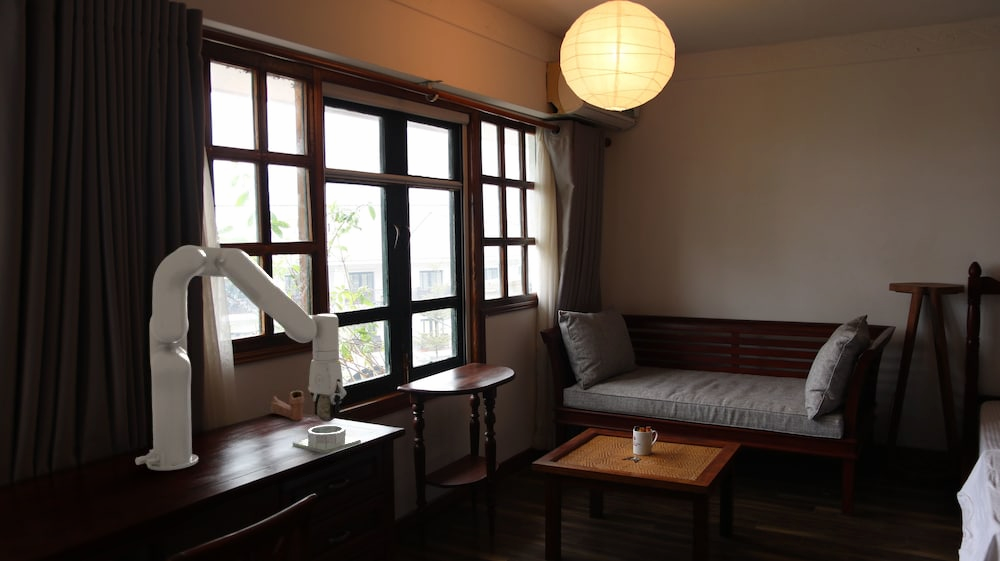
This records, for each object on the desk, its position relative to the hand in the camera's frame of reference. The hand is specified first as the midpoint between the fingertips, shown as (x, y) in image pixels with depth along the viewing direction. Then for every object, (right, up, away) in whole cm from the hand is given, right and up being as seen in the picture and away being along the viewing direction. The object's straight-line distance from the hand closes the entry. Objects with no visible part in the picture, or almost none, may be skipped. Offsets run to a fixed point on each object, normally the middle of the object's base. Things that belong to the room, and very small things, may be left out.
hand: (327, 414), depth 214 cm
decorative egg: (0, -2, 0) cm, 2 cm away
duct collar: (0, -9, 0) cm, 9 cm away
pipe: (-22, -8, +34) cm, 42 cm away
